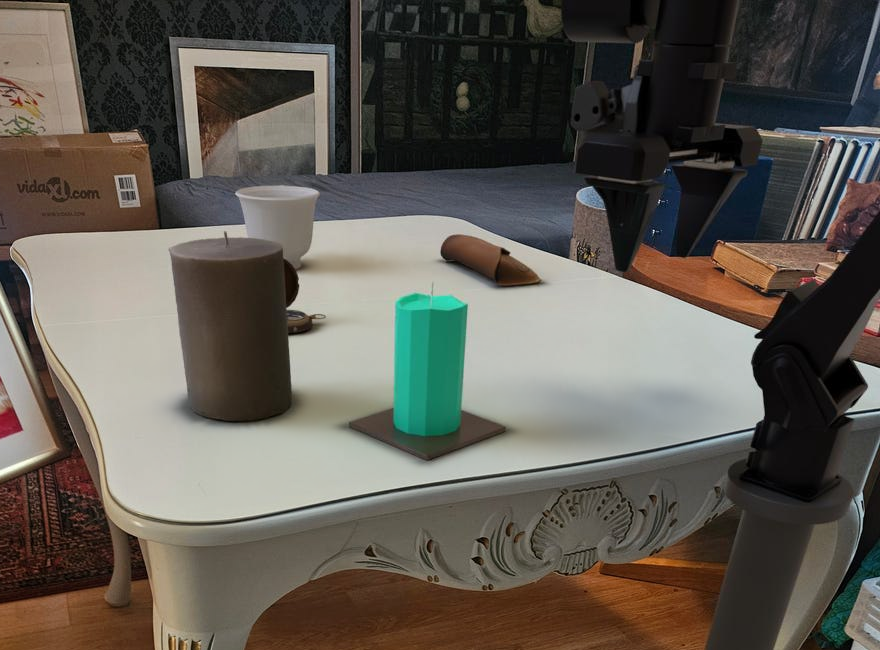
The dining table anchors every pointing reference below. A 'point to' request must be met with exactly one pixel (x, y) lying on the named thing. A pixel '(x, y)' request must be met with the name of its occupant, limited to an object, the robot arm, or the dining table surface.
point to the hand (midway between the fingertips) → (652, 263)
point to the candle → (429, 363)
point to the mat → (427, 446)
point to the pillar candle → (233, 326)
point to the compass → (295, 318)
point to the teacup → (280, 217)
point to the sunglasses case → (488, 260)
